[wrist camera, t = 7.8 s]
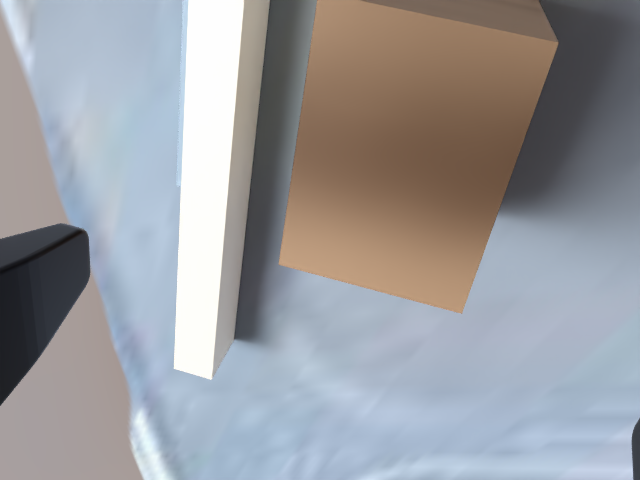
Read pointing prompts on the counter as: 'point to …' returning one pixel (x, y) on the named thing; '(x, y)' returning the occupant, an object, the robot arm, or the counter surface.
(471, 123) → the tea box
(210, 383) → the counter surface
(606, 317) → the counter surface
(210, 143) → the rail
